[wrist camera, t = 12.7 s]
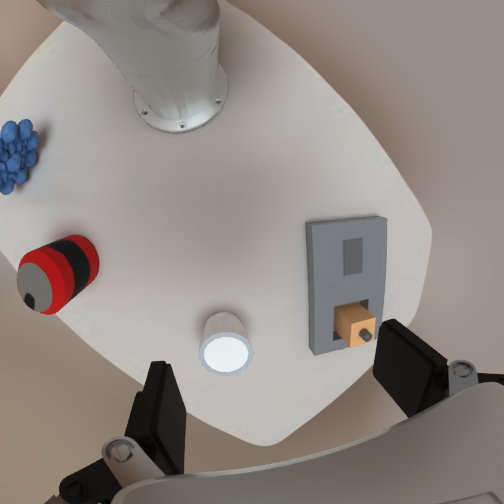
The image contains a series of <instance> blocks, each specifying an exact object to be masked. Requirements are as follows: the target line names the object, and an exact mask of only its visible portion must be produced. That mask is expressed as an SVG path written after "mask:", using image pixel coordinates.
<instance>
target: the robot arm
mask: <svg viewBox="0 0 504 504" xmlns="http://www.w3.org/2000/svg"><path fill="white" fill-rule="evenodd" d="M37 1H38V2H39V3H40V4H41V5H42V6H43V7H44V8H45V9H47V10H48V11H50V12H51V13H53V14H55V15H56V16H57V17H59V18H61V19H63V20H65V21H66V22H68V23H70V24H72V25H74V26H75V27H77V28H79V29H80V30H82V31H83V32H85V33H86V34H87V35H89V36H90V37H91V38H92V39H93V40H94V41H95V42H96V43H97V44H98V45H99V46H100V47H101V48H102V49H103V50H104V52H105V53H106V54H107V55H108V56H109V58H110V59H111V60H112V61H113V63H114V64H115V65H116V67H117V68H118V69H119V71H120V72H121V73H122V74H123V76H124V77H125V78H126V79H127V81H128V82H129V83H130V84H131V86H132V87H133V88H134V104H135V107H136V110H137V112H138V114H139V115H140V117H141V118H142V119H143V120H144V121H145V122H146V123H147V124H149V125H150V126H151V127H153V128H155V129H157V130H159V131H163V132H167V133H183V132H188V131H192V130H195V129H197V128H199V127H202V126H204V125H205V124H207V123H208V122H209V121H211V120H212V119H213V118H214V117H215V116H216V115H217V114H218V113H219V111H220V110H221V109H222V107H223V105H224V103H225V101H226V98H227V94H228V78H227V75H226V72H225V70H224V68H223V67H222V65H221V64H220V63H219V62H218V46H219V32H220V22H221V14H220V8H219V5H218V2H217V0H37ZM216 102H220V104H216ZM146 112H148V113H147V115H145V113H146ZM182 125H184V128H181V126H182ZM373 375H374V377H375V378H376V379H377V381H378V382H379V383H380V384H381V385H382V386H383V388H384V389H385V390H386V391H387V392H388V394H389V395H390V396H391V397H392V399H393V400H394V401H395V402H396V403H397V405H398V406H399V407H400V408H401V409H402V411H403V412H404V413H405V414H406V415H407V417H408V419H406V420H404V421H402V422H400V423H397V424H395V425H393V426H391V427H389V428H386V429H384V430H382V431H379V432H377V433H374V434H372V435H369V436H367V437H364V438H362V439H359V440H356V441H353V442H351V443H348V444H345V445H342V446H339V447H336V448H333V449H329V450H326V451H323V452H319V453H316V454H312V455H308V456H304V457H300V458H296V459H292V460H288V461H283V462H278V463H273V464H268V465H262V466H256V467H249V468H242V469H235V470H226V471H217V472H204V473H192V474H184V452H185V430H186V408H185V405H184V402H183V400H182V397H181V394H180V391H179V388H178V385H177V382H176V379H175V376H174V373H173V370H172V367H171V365H170V364H166V362H165V361H152V362H151V365H150V368H149V371H148V375H147V378H146V382H145V385H144V389H143V391H142V392H141V391H140V392H137V393H136V396H135V399H134V403H133V406H132V410H131V413H130V417H129V420H128V424H127V427H126V431H125V435H124V436H119V437H114V438H111V439H110V440H108V441H107V442H106V443H105V444H104V445H103V447H102V451H101V454H102V457H103V458H101V459H100V460H98V461H96V462H94V463H92V464H90V465H89V466H87V467H85V468H83V469H81V470H79V471H77V472H75V473H73V474H71V475H69V476H67V477H66V478H64V479H63V480H62V482H61V483H60V486H59V492H60V494H59V495H58V496H57V497H56V496H55V495H53V496H52V497H51V498H50V499H49V500H48V501H46V502H45V503H44V504H504V375H503V374H486V373H477V372H476V368H475V366H474V365H473V364H472V363H470V362H469V361H465V360H456V361H453V362H452V363H450V365H449V366H448V365H447V359H446V358H444V357H443V356H442V355H441V354H440V353H438V352H437V351H436V350H434V349H433V348H432V347H431V346H429V345H428V344H427V343H426V342H424V341H423V340H422V339H420V338H419V337H418V336H416V335H415V334H414V333H413V332H411V331H410V330H409V329H407V328H406V327H405V326H404V325H402V324H401V323H400V322H398V321H397V320H396V319H390V320H387V321H384V322H382V325H381V326H380V327H379V332H378V340H377V347H376V353H375V359H374V366H373Z"/></svg>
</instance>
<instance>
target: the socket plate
mask: <svg viewBox="0 0 504 504" xmlns="http://www.w3.org/2000/svg"><path fill="white" fill-rule="evenodd" d="M306 239H307V258H308V284H309V348H310V349H311V351H312V352H313V354H314V356H315V355H319V354H324V353H328V352H332V351H336V350H340V349H343V348H347V347H349V346H348V345H347V344H346V342H345V341H344V340H343V339H342V338H341V337H340V335H339V334H338V333H337V332H336V331H335V332H333V324H334V306H339V305H343V304H348V303H352V302H357V301H361V304H360V305H362V306H363V307H364V308H365V309H367V310H368V311H369V312H370V313H371V314H373V315H374V316H375V317H376V321H375V332H374V340H375V339H378V332H379V327H380V326H381V323H382V315H383V305H384V293H385V279H386V258H387V218H384V217H379V216H374V217H363V218H352V219H342V220H332V221H322V222H312V223H306Z"/></svg>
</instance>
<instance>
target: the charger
mask: <svg viewBox="0 0 504 504" xmlns="http://www.w3.org/2000/svg"><path fill="white" fill-rule="evenodd" d="M375 321H376V317H375V316H374V315H373V314H371V313H370V312H369V311H368V310H367V309H365V308H364V307H363V306H362V305H360V304H359V303H358V302H352V303H348V304H343V305H339V306H334V324H333V328H334V330H335V331H336V332H337V333H338V334H339V335H340V337H341V338H342V339H343V340H344V341H345V342H346V344H347V345H348V346H349V347H350V348H351V347H355V346H358V345H361V344H364V343H368V342H371V341H374V332H375Z"/></svg>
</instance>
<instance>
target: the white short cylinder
mask: <svg viewBox="0 0 504 504" xmlns="http://www.w3.org/2000/svg"><path fill="white" fill-rule="evenodd" d="M253 353H254V352H253V349H252V346H251V343H250V341H249V338H248V336H247V334H246V332H245V330H244V327H243V325H242V323H241V321H240V320H239V319H238V317H237V316H235V315H233V314H231V313H227V312H220V313H217V314H214V315H212V316H211V317H210V318H208V320H207V322H206V324H205V327H204V331H203V335H202V339H201V344H200V348H199V359H200V361H201V363H202V366H204V367H205V368H206V369H207V370H208V371H209V372H211V373H214V374H217V375H222V376H231V375H234V374H238V373H240V372H242V371H243V370H245V369H246V368H247V367H248V366H249V364H250V363H251V362H252V359H253Z"/></svg>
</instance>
